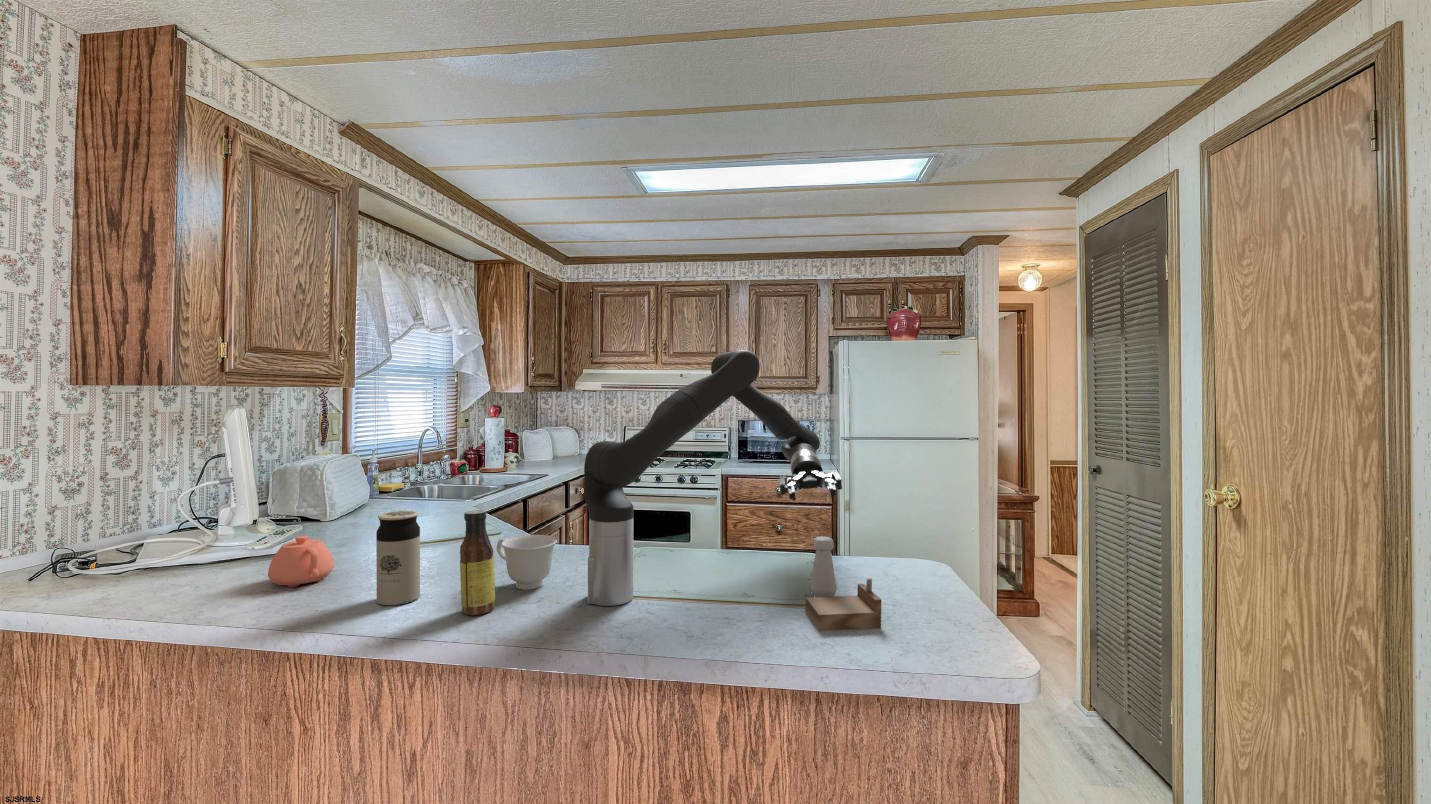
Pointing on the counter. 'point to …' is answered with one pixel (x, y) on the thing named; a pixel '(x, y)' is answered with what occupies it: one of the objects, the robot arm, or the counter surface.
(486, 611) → the sauce bottle
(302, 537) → the sugar bowl
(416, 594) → the travel mug
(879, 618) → the wooden stand
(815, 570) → the salt shaker
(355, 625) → the counter surface
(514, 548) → the teacup
